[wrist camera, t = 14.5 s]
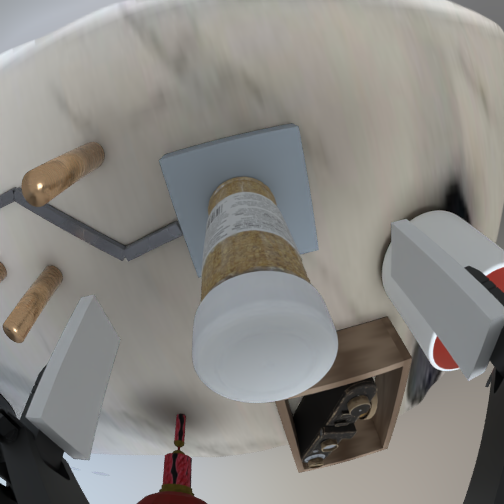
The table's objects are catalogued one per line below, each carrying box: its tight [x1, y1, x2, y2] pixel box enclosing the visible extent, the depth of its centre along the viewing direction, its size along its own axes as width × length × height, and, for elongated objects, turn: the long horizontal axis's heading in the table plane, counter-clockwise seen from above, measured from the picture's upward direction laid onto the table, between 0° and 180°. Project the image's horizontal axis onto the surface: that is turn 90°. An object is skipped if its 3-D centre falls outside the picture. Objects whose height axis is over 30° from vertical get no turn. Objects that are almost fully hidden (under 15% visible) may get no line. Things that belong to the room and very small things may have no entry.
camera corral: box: [275, 316, 412, 473], centre depth 32 cm, size 13×21×6 cm, turn 12°
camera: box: [293, 377, 378, 469], centre depth 31 cm, size 16×7×8 cm, turn 170°
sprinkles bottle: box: [192, 176, 338, 403], centre depth 15 cm, size 5×5×13 cm
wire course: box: [0, 142, 183, 343], centre depth 17 cm, size 23×16×8 cm
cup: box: [382, 210, 504, 371], centre depth 22 cm, size 10×10×10 cm
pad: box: [159, 123, 319, 278], centre depth 22 cm, size 9×9×2 cm
